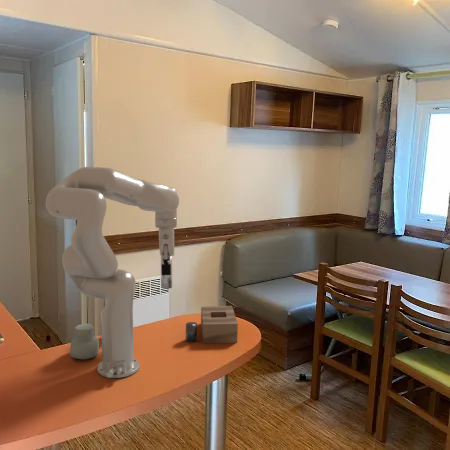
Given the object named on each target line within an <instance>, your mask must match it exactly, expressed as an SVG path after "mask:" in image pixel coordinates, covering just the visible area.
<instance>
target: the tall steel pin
mask: <svg viewBox="0 0 450 450" xmlns="http://www.w3.org/2000/svg"><path fill="white" fill-rule="evenodd" d="M163 255H164V254H163ZM168 255H169V254H168ZM168 259H169V257H168ZM168 262H169V261H168ZM170 264H171V275H162V256H161V255H160V288H161V289H164V290H166V289H167V290H169V289H172V288H173V256H172V255H170Z"/></svg>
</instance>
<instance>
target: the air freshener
mask: <svg viewBox="0 0 450 450" xmlns="http://www.w3.org/2000/svg"><path fill="white" fill-rule="evenodd" d="M94 329H95V328H94V325H93V324H91V323H81V324H78V325H76V326H75V327H74V338H72V340H71V341H70V347H69V354H70V357H72V358H73V359H77V360H88V359H92V358H94V357H96V356H97V355H99V351H100V350H99V348H100V339H99V338H98V337H97V336H95V333H94V332H95V331H94Z"/></svg>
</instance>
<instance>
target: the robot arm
mask: <svg viewBox="0 0 450 450" xmlns="http://www.w3.org/2000/svg"><path fill="white" fill-rule="evenodd" d="M107 199H108V200H110V201H113V202H117V203H120V204H123V205H126V206H127V205H128V206H132V207H133V206H134V207H138V208H139V209H140V210H143V211H146V212H154V223H155V224H154V225H155V228H156V229H158V246H159V247H158V248H159V255H160V257H161V256H162V275H171V264H170V255H172V257H174V256H175V229H176V228H177V227H178V225H177V224H178V223H177V222H178V221H177V220H178V219H177V217H178V216H177V215H178V213H177V212H178V211H177V210H178V207H179V205H180V198H179V195H178V193H177V190H176V188H174V187H169V186H165V185H161V184H159V183H155V182H151V181H147V180H144V179H140V178H136V177H133V176H130V175H128V174H126V173H124V172H122V171H121V172H120V171H119V170H117V169H113V168H110V167H99V166H98V167H97V166H96V167H94V166H83V167H80V168H78V169H77V170H75V171H73V172H72V173H70V174H69V175H68V176H66V177H65V178H64V179H62V180H61V181H60V182H58V183H57V184H56V185H54V186H53V187H52V188H51V189H50V190H49V192H48V194H47V195H46V199H45V208H46V211H47V212H48V213H49V214H50V215H51V216H52V217H54V218H57V219H64V220H65V219H66V220H75V221H77V223H76V226H75V228H74V231H73V233H72V235H71V240H70V241H71V244H70V245H68V246H67V247H66V248H65V249H64V251H63V253H62V257H61V260H62V261H61V262H62V267H63V270H64V273H66V275H67V277H68V278H69V279H70V280H71V282H72V283H73V285H74V286H75V287H76V288H77V290H78V291H79V292H80V293H81V294H82V295H84V296H86V297H88V298H92V299H100V300H103V301H106V304H105V305H104V307H103V309H102V310H101V313H100V333H101V335H100V337H101V361H100V362H99V363H98V365H97V369H96V370H97V374H99V375H100V376H102V377H104V378H108V379H121V378H126V377H129V376H131V375H133V374H135V373H136V372H138V370H139V369H140V363H139V360H137V359H136V358H135V355H134V354H135V353H134V352H135V351H134V350H135V349H134V346H135V345H134V298H135V293H136V286H137V285H136V284H137V282H136V278H135V276H134V275H133V274H132V273H131V272H129V271H126V270H124V269H119V264H118V260H117V257H116V254H115V252H114V251H113V249H112V248H111V247H110V245H109V243H108V241H107V240H106V238H105V236H104V234H103V224H104V220H105V216H106V211H107V201H106V200H107ZM174 228H175V229H174ZM163 254H164V255H163ZM168 254H169V255H168ZM168 257H169V259H168ZM168 261H169V262H168Z"/></svg>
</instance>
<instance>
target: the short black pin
mask: <svg viewBox="0 0 450 450" xmlns="http://www.w3.org/2000/svg"><path fill="white" fill-rule="evenodd" d="M185 341H186V342H187V343H190V344H191V343H196V342H197V341H198V323H197V322H196V321H195V322H194V321H190V322H187V323H185Z"/></svg>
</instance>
